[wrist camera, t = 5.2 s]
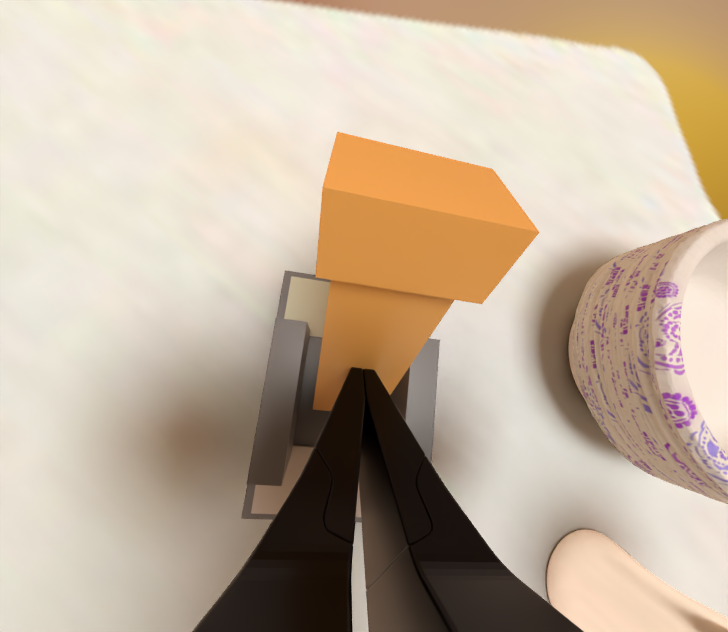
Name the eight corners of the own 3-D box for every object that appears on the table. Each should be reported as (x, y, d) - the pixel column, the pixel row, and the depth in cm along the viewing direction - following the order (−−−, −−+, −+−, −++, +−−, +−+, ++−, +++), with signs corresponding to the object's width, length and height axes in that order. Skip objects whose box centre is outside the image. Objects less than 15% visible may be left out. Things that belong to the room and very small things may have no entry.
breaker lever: (380, 430, 13) (539, 231, 4) (303, 424, 12) (322, 187, 4) (378, 380, 14) (493, 169, 6) (311, 373, 14) (337, 131, 6)
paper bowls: (494, 326, 19) (613, 306, 11) (624, 232, 22) (786, 166, 15) (614, 511, 18) (828, 623, 11) (730, 386, 22) (958, 403, 14)
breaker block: (392, 493, 16) (438, 582, 10) (256, 486, 15) (210, 582, 9) (409, 303, 18) (456, 275, 12) (291, 285, 17) (273, 243, 11)
